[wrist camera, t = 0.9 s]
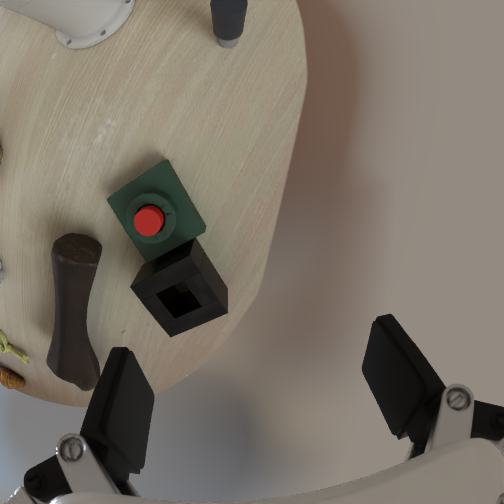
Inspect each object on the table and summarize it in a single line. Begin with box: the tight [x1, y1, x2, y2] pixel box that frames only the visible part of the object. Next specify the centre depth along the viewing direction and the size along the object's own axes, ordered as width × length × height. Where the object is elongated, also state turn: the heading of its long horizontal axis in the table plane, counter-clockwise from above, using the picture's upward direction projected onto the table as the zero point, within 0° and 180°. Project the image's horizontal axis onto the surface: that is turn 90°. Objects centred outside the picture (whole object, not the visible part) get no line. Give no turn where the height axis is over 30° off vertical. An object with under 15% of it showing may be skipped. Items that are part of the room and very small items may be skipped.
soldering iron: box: [210, 0, 248, 48], centre depth 21 cm, size 3×3×11 cm
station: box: [107, 160, 206, 263], centre depth 32 cm, size 10×9×4 cm
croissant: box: [0, 367, 26, 389], centre depth 44 cm, size 14×7×5 cm, turn 82°
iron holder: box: [130, 237, 228, 337], centre depth 35 cm, size 9×9×6 cm
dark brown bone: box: [47, 233, 102, 391], centre depth 36 cm, size 11×10×28 cm
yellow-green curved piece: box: [0, 330, 29, 364], centre depth 41 cm, size 7×12×2 cm, turn 84°
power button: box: [134, 205, 164, 236], centre depth 30 cm, size 3×3×2 cm
